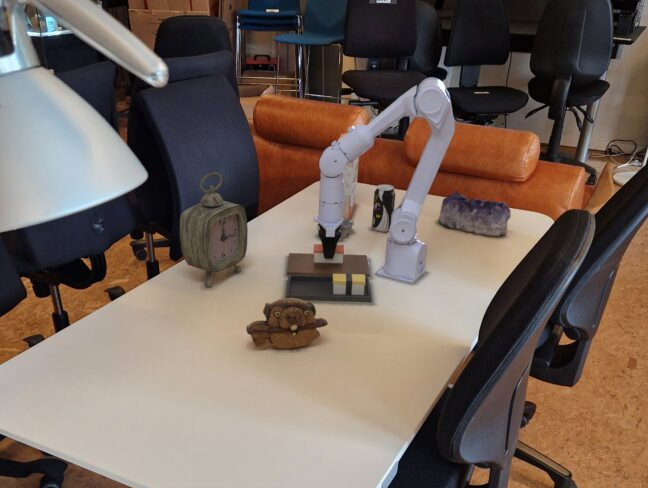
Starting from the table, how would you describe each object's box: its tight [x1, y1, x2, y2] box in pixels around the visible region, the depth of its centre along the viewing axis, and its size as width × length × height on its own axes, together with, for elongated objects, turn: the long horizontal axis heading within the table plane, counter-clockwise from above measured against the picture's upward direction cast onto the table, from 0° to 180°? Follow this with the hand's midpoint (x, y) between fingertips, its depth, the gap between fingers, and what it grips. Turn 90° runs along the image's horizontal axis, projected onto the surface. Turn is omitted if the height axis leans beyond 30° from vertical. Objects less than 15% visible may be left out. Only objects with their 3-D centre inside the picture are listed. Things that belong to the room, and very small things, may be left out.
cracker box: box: [338, 133, 360, 220], centre depth 209 cm, size 14×6×21 cm, turn 168°
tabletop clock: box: [179, 172, 249, 288], centre depth 167 cm, size 14×9×25 cm, turn 143°
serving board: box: [286, 252, 371, 279], centre depth 179 cm, size 20×12×1 cm, turn 87°
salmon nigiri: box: [313, 243, 345, 263], centre depth 178 cm, size 7×4×3 cm, turn 87°
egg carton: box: [316, 218, 355, 242], centre depth 198 cm, size 11×8×4 cm
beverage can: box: [371, 183, 396, 233], centre depth 199 cm, size 6×6×12 cm
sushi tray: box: [285, 275, 372, 303], centre depth 168 cm, size 19×11×2 cm, turn 87°
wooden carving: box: [245, 297, 329, 349], centre depth 144 cm, size 16×5×10 cm, turn 105°
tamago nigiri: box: [333, 273, 366, 295], centre depth 167 cm, size 7×4×4 cm, turn 87°
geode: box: [437, 190, 512, 237], centre depth 201 cm, size 20×12×10 cm, turn 64°
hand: (328, 254), depth 178 cm, fingers closed on salmon nigiri, 4 cm apart
